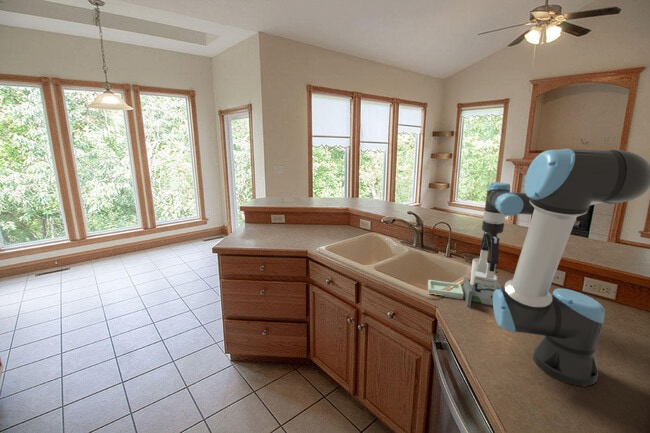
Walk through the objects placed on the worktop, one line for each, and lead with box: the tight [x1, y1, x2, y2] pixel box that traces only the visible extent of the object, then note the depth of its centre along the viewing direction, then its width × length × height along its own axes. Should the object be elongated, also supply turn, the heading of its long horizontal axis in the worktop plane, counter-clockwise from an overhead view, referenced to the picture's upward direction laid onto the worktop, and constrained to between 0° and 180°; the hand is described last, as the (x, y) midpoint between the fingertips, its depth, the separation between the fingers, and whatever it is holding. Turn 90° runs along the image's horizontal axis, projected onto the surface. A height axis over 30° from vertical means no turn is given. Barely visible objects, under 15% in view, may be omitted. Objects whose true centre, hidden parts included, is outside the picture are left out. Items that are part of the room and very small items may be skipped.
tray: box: [427, 279, 464, 300], centre depth 136 cm, size 10×14×2 cm
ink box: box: [471, 271, 498, 306], centre depth 127 cm, size 9×5×12 cm, turn 62°
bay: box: [462, 276, 504, 308], centre depth 127 cm, size 14×13×7 cm
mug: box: [469, 258, 488, 287], centre depth 142 cm, size 10×7×12 cm, turn 119°
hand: (485, 271), depth 125 cm, fingers open, 13 cm apart
